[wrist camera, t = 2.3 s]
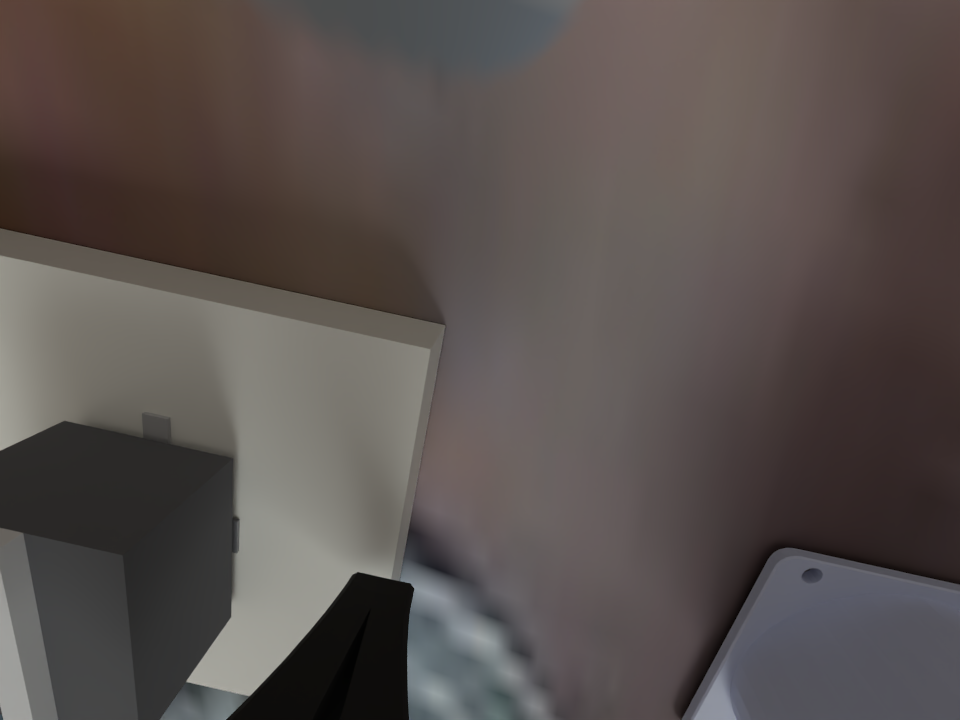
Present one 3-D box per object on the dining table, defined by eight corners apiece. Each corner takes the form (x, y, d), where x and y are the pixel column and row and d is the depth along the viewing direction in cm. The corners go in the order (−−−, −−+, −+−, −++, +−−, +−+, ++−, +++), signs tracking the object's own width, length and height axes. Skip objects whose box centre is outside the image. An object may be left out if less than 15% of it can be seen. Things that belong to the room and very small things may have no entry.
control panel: (445, 325, 11) (429, 351, 9) (385, 658, 15) (364, 728, 13) (-319, 159, 11) (-503, 147, 9) (-178, 530, 15) (-285, 580, 13)
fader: (233, 458, 10) (101, 575, 7) (231, 616, 12) (124, 770, 9) (63, 420, 10) (-145, 518, 7) (86, 584, 12) (-75, 724, 9)
